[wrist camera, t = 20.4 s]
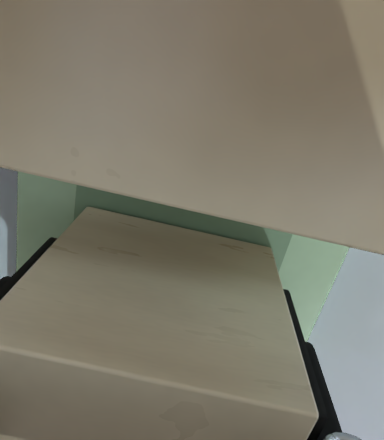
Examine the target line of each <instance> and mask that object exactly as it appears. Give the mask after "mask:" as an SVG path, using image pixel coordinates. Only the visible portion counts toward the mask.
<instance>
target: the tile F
mask: <svg viewBox="0 0 384 440" xmlns="http://www.w3.org/2000/svg"><path fill="white" fill-rule="evenodd" d="M318 417H319V413H318V410H317V406H316V403H315V399H314V396H313V392H312V389H311V385H310V381H309V378H308V374H307V371H306V367H305V364H304V360H303V357H302V353H301V350H300V346H299V343H298V339H297V336H296V332H295V329H294V325H293V322H292V318H291V315H290V311H289V308H288V304H287V301H286V297H285V294H284V290H283V287H282V283H281V280H280V276H279V273H278V269H277V266H276V262H275V259H274V255H273V252H272V249H271V248H270V247H266V246H261V245H257V244H252V243H248V242H243V241H239V240H235V239H230V238H226V237H221V236H217V235H212V234H208V233H204V232H199V231H195V230H190V229H186V228H181V227H177V226H173V225H168V224H164V223H159V222H155V221H151V220H146V219H142V218H137V217H133V216H128V215H124V214H120V213H115V212H111V211H106V210H102V209H97V208H93V207H86V208H85V209H84V210H83V211H82V213H81V214H80V215H79V216H78V217H77V218H76V219H75V220H74V221H73V222H72V223H71V224H70V226H69V227H68V228H67V229H66V230H65V231H64V232H63V233H62V234H61V235H60V236H59V237H58V239H57V240H56V241H55V242H54V243H53V244H52V245H51V246H50V247H49V248H48V249H47V250H46V252H45V253H44V254H43V255H42V256H41V257H40V258H39V259H38V260H37V261H36V262H35V263H34V265H33V266H32V267H31V268H30V269H29V270H28V271H27V272H26V273H25V274H24V275H23V276H22V278H21V279H20V280H19V281H18V282H17V283H16V284H15V285H14V286H13V287H12V288H11V290H10V291H9V292H8V293H7V294H6V295H5V296H4V297H3V298H2V299H1V300H0V440H307V439H308V437H309V435H310V433H311V431H312V429H313V427H314V425H315V424H316V422H317V420H318Z"/></svg>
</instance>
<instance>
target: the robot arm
mask: <svg viewBox="0 0 384 440" xmlns="http://www.w3.org/2000/svg"><path fill="white" fill-rule="evenodd" d="M57 239H58V238H53V237H50V238H49V239H48V240H47V241H46V242H45V243H44V244H43V245H42V246H41V247H40V248H39V249H38V250H37V251H36V252H35V253H34V254H33V255H32V256H31V257H30V258H29V259H28V260H27V261H26V262H25V263H24V265H23V266H22V267H21V268H20V269H19V270H18V271H17V272H16V273H15V274H14V275H13V276H12V277H9V276H6V277H3V278H2V279H1V280H0V300H1V299H2V298H3V297H4V296H5V295H6V294H7V293H8V292H9V291H10V290H11V288H12V287H13V286H14V285H15V284H16V283H17V282H18V281H19V280H20V279H21V278H22V276H23V275H24V274H25V273H26V272H27V271H28V270H29V269H30V268H31V267H32V266H33V265H34V263H35V262H36V261H37V260H38V259H39V258H40V257H41V256H42V255H43V254H44V253H45V252H46V250H47V249H48V248H49V247H50V246H51V245H52V244H53V243H54V242H55V241H56V240H57ZM283 290H284V294H285V297H286V301H287V304H288V308H289V311H290V315H291V318H292V322H293V325H294V329H295V332H296V336H297V339H298V343H299V346H300V350H301V353H302V357H303V360H304V364H305V367H306V371H307V374H308V378H309V381H310V385H311V389H312V392H313V396H314V399H315V403H316V406H317V410H318V413H319V417H318V420H317V422H316V424H315V425H314V427H313V429H312V431H311V433H310V435H309V437H308V439H307V440H361V439H360V438H358V437H356V436H353V435H350V434H347V433H342V430H341V427H340V424H339V421H338V418H337V415H336V412H335V409H334V406H333V403H332V400H331V397H330V394H329V391H328V388H327V385H326V382H325V379H324V376H323V373H322V370H321V367H320V364H319V361H318V358H317V355H316V352H315V349H314V347H313V345H312V344H311V343H308V342H305V340H304V337H303V333H302V330H301V327H300V324H299V320H298V317H297V314H296V311H295V307H294V304H293V301H292V298H291V295H290V292H289V290H286V289H283Z"/></svg>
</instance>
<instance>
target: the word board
mask: <svg viewBox="0 0 384 440" xmlns="http://www.w3.org/2000/svg"><path fill="white" fill-rule="evenodd" d="M86 207H93V208H97V209H102V210H106V211H111V212H115V213H120V214H124V215H128V216H133V217H137V218H142V219H146V220H151V221H155V222H159V223H164V224H168V225H173V226H177V227H181V228H186V229H190V230H195V231H199V232H204V233H208V234H212V235H217V236H221V237H226V238H230V239H235V240H239V241H243V242H248V243H252V244H257V245H261V246H266V247H270V248H271V249H272V252H273V255H274V259H275V262H276V266H277V269H278V273H279V276H280V280H281V283H282V287H283V289H286V290H289V292H290V295H291V298H292V301H293V304H294V307H295V311H296V314H297V317H298V320H299V324H300V327H301V330H302V333H303V337H304V340H305V342H307V340H308V338H309V336H310V334H311V331H312V329H313V327H314V325H315V323H316V320H317V318H318V316H319V314H320V312H321V309H322V307H323V305H324V303H325V301H326V298H327V296H328V294H329V292H330V290H331V287H332V285H333V283H334V281H335V279H336V276H337V274H338V272H339V270H340V268H341V265H342V263H343V261H344V259H345V257H346V254H347V252H348V250H349V248H350V247H347V246H343V245H338V244H334V243H330V242H325V241H321V240H316V239H312V238H308V237H303V236H299V235H295V234H290V233H286V232H281V231H277V230H273V229H268V228H264V227H260V226H255V225H251V224H246V223H242V222H238V221H233V220H229V219H225V218H220V217H216V216H211V215H207V214H203V213H198V212H194V211H189V210H185V209H181V208H176V207H172V206H168V205H163V204H159V203H154V202H150V201H146V200H141V199H137V198H133V197H128V196H124V195H119V194H115V193H111V192H106V191H102V190H98V189H93V188H89V187H84V186H80V185H76V184H71V183H67V182H63V181H58V180H54V179H49V178H45V177H41V176H36V175H32V174H28V173H23V172H19V171H18V188H17V254H16V272H17V271H18V270H19V269H20V268H21V267H22V266H23V265H24V263H25V262H26V261H27V260H28V259H29V258H30V257H31V256H32V255H33V254H34V253H35V252H36V251H37V250H38V249H39V248H40V247H41V246H42V245H43V244H44V243H45V242H46V241H47V240H48V239H49V238H50V237H53V238H58V237H59V236H60V235H61V234H62V233H63V232H64V231H65V230H66V229H67V228H68V227H69V226H70V224H71V223H72V222H73V221H74V220H75V219H76V218H77V217H78V216H79V215H80V214H81V213H82V211H83V210H84V209H85V208H86Z"/></svg>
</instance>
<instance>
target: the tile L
mask: <svg viewBox="0 0 384 440" xmlns="http://www.w3.org/2000/svg"><path fill="white" fill-rule="evenodd" d="M0 167H1V168H6V169H10V170H14V171H19V172H23V173H28V174H32V175H36V176H41V177H45V178H49V179H54V180H58V181H63V182H67V183H71V184H76V185H80V186H84V187H89V188H93V189H98V190H102V191H106V192H111V193H115V194H119V195H124V196H128V197H133V198H137V199H141V200H146V201H150V202H154V203H159V204H163V205H168V206H172V207H176V208H181V209H185V210H189V211H194V212H198V213H203V214H207V215H211V216H216V217H220V218H225V219H229V220H233V221H238V222H242V223H246V224H251V225H255V226H260V227H264V228H268V229H273V230H277V231H281V232H286V233H290V234H295V235H299V236H303V237H308V238H312V239H316V240H321V241H325V242H330V243H334V244H338V245H343V246H347V247H351V248H356V249H360V250H365V251H369V252H373V253H378V254H382V255H384V0H0Z"/></svg>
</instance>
